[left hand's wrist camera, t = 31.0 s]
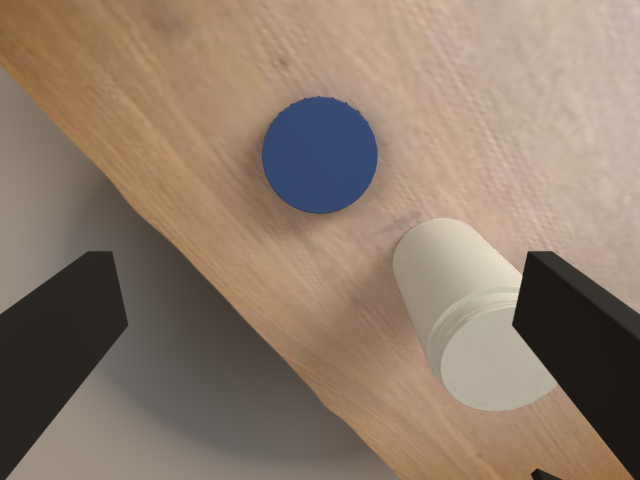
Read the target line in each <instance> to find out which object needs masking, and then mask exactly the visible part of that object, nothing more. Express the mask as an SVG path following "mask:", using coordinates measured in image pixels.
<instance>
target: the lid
mask: <svg viewBox="0 0 640 480" xmlns="http://www.w3.org/2000/svg"><path fill="white" fill-rule="evenodd" d="M290 105H291V106H289V107H288V108H286V109H285V110H284V111H283V112H280V113H279V115H278V116H277V118H276V119H275V120H274V121H273V123H271V124H270V127H269V130H268V132H267V134H266V137H265V140H264V144H263V151H262V159H263V167H264V171H265V174H266V177H267V179H268V181H269V183H270V185H271V187H272V188H273V190H274V191H275V192H276V193H277V195H278V196H279V197H280V198H281V199H283V200H284V201H285V202H286V203H288V204H289V205H291V206H293V207H295V208H297V209H299V210H302V211H305V212H310V213H330V212H334V211H338V210H340V209H343V208H345V207H347V206H349V205H350V204H352V203H353V202H355V201H356V200H357V199H358V198H359V197H360V196H361V195H362V194H363V193H364V192H365V191H366V189H367V188H368V186H369V185H370V183H371V181H372V178H373V176H374V173H375V170H376V165H377V146H376V141H375V138H374V135H373V132H372V130H371V128H370V126H369V125H368V122H367V121H366V120H365V119H364V118H363V117H362V116H361V115H360V114H359V111H356V110H355V109H353V108H352V107H351V106H349V105H347V103H346V102H345V103H344V102H342V101H339V100H337V99H334V98H333V97H332V98H328V97H319V96H318V97H312V98H304V99H303V100H300V101H298V102H296V103H294V104H290Z"/></svg>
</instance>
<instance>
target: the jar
mask: <svg viewBox="0 0 640 480" xmlns="http://www.w3.org/2000/svg"><path fill="white" fill-rule="evenodd" d="M392 268H393V273H394V277H395V279H396V282H397V285H398V287H399V290H400V292H401V295H402V297H403V300H404V303H405V305H406V308H407V310H408V313H409V316H410V318H411V321H412V323H413V326H414V328H415V331H416V334H417V336H418V339H419V341H420V344H421V347H422V349H423V352H424V354H425V357H426V359H427V362H428V365H429V367H430V369H431V371H432V373H433V374H434V376H435V377H436V378H437V380H438V381H439V382H440V383H441V384H442V385H443V386H444V388H445V389H446V390H447V392H448V393H449V394H450V395H451V396H452V397H454V398H455V399H456V400H457V401H459V402H460V403H462V404H464V405H466V406H468V407H471V408H474V409H477V410H483V411H507V410H512V409H517V408H520V407H523V406H526V405H528V404H530V403H533V402H535V401H536V400H538V399H540V398H541V397H543V396H544V395H546V394H547V393H548V392H550V391H551V390H552V389H553V388H554V387H555V386H556V385H557V384H558V383H557V382H556V380H555V379H554V378H553V376H552V375H551V374H550V373H549V371H548V370H547V369H546V368H545V366H544V365H543V364H542V363H541V361H540V360H539V359H538V358H537V356H536V355H535V354H534V353H533V351H532V350H531V349H530V348H529V346H528V345H527V344H526V343H525V341H524V340H523V339H522V338H521V336H520V335H519V334H518V333H517V331H516V330H515V329H514V327H513V326H512V322H513V317H514V312H515V308H516V303H517V299H518V294H519V290H520V285H521V281H522V275H521V274H520V273H519V272H518V271H517V270H516V269H515V268H514V267H513V266H512V265H511V264H510V263H509V262H508V261H507V260H505V259H504V258H503V257H502V256H501V255H500V254H499V253H498V252H497V251H496V250H495V249H494V248H493V247H492V246H491V245H490V244H489V243H487V242H486V241H485V240H484V239H483V238H482V237H481V236H480V235H479V234H478V233H477V232H476V231H475V230H474V229H473V228H471V227H470V226H469V225H467V224H465V223H464V222H461V221H459V220H455V219H450V218H437V219H432V220H428V221H425V222H423V223H420V224H418V225H417V226H415V227H413V228H412V229H411V230H409V231H408V232H407V233H406V234H405V235H404V236H403V237H402V239H401V240H400V242H399V243H398V245H397V247H396V249H395V252H394V255H393V260H392Z"/></svg>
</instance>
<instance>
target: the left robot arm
mask: <svg viewBox="0 0 640 480" xmlns="http://www.w3.org/2000/svg"><path fill="white" fill-rule="evenodd" d="M127 326H128V322H127V317H126V313H125V308H124V303H123V299H122V294H121V290H120V285H119V281H118V276H117V271H116V267H115V262H114V258H113V253H112V251H88V252H86V253H85V254H84V255H82V256H81V257H79V258H78V259H77V260H75V261H74V262H72V263H71V264H70V265H68V266H67V267H65V268H64V269H63V270H61V271H60V272H59V273H57V274H56V275H54V276H53V277H52V278H50V279H49V280H47V281H46V282H45V283H43V284H42V285H40V286H39V287H38V288H36V289H35V290H34V291H32V292H31V293H29V294H28V295H27V296H25V297H24V298H22V299H21V300H20V301H18V302H17V303H15V304H14V305H13V306H11V307H10V308H9V309H7V310H6V311H4V312H3V313H2V314H0V480H5V479H6V478H7V477H8V476H9V474H10V473H11V472H12V471H13V469H14V468H15V467H16V466H17V464H18V463H19V462H20V461H21V459H22V458H23V457H24V456H25V454H26V453H27V452H28V451H29V449H30V448H31V447H32V446H33V444H34V443H35V442H36V441H37V439H38V438H39V437H40V436H41V434H42V433H43V432H44V431H45V429H46V428H47V427H48V425H49V424H50V423H51V422H52V420H53V419H54V418H55V417H56V415H57V414H58V413H59V412H60V410H61V409H62V408H63V407H64V405H65V404H66V403H67V402H68V400H69V399H70V398H71V397H72V395H73V394H74V393H75V392H76V390H77V389H78V388H79V387H80V385H81V384H82V383H83V382H84V380H85V379H86V378H87V376H88V375H89V374H90V373H91V371H92V370H93V369H94V368H95V366H96V365H97V364H98V363H99V361H100V360H101V359H102V358H103V356H104V355H105V354H106V353H107V351H108V350H109V349H110V348H111V346H112V345H113V344H114V343H115V341H116V340H117V339H118V338H119V336H120V335H121V334H122V333H123V331H124V330H125V329H126V327H127ZM512 326H513V327H514V329H515V330H516V331H517V333H518V334H519V335H520V336H521V338H522V339H523V340H524V341H525V343H526V344H527V345H528V346H529V348H530V349H531V350H532V351H533V353H534V354H535V355H536V356H537V358H538V359H539V360H540V361H541V363H542V364H543V365H544V366H545V368H546V369H547V370H548V371H549V373H550V374H551V375H552V376H553V378H554V379H555V380H556V382H557V383H558V384H559V385H560V387H561V388H562V389H563V390H564V392H565V393H566V394H567V395H568V397H569V398H570V399H571V400H572V402H573V403H574V404H575V405H576V407H577V408H578V409H579V410H580V412H581V413H582V414H583V415H584V417H585V418H586V419H587V420H588V422H589V423H590V424H591V425H592V427H593V428H594V429H595V431H596V432H597V433H598V434H599V436H600V437H601V438H602V439H603V441H604V442H605V443H606V444H607V446H608V447H609V448H610V449H611V451H612V452H613V453H614V454H615V456H616V457H617V458H618V459H619V461H620V462H621V463H622V464H623V466H624V467H625V468H626V469H627V471H628V472H629V473H630V474H631V476H632V477H633V478H634V480H640V314H638V313H637V312H636V311H634V310H633V309H632V308H630V307H629V306H627V305H626V304H625V303H623V302H622V301H620V300H619V299H618V298H616V297H615V296H613V295H612V294H611V293H609V292H608V291H606V290H605V289H604V288H602V287H601V286H600V285H598V284H597V283H595V282H594V281H593V280H591V279H590V278H588V277H587V276H586V275H584V274H583V273H581V272H580V271H579V270H577V269H576V268H575V267H573V266H572V265H570V264H569V263H568V262H566V261H565V260H563V259H562V258H561V257H559V256H558V255H556V254H555V253H554V252H552V251H528V253H527V258H526V262H525V267H524V271H523V276H522V281H521V285H520V290H519V294H518V299H517V303H516V308H515V312H514V317H513V322H512Z"/></svg>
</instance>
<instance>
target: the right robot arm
mask: <svg viewBox="0 0 640 480" xmlns="http://www.w3.org/2000/svg"><path fill="white" fill-rule="evenodd" d="M531 476H532V478H533V480H562V479H560V478H557V477H555V476H553V475H551V474H549V473H546V472H544V471H542V470H540V469H536V470H535V471H534V472H533V473H531Z"/></svg>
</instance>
